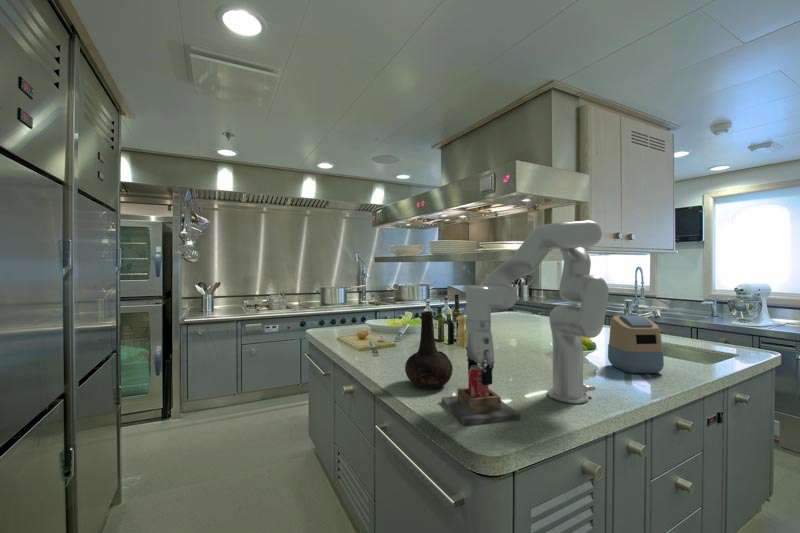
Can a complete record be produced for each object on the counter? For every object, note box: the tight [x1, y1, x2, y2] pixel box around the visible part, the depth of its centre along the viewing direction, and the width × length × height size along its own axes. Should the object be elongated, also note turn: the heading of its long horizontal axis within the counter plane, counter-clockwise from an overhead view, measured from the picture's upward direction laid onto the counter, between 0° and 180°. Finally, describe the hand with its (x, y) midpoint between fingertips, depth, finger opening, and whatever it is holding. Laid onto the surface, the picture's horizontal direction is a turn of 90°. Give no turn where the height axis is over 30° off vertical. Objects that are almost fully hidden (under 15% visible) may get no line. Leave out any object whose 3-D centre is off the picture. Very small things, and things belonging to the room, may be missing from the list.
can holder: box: [441, 387, 521, 426], centre depth 110 cm, size 18×18×6 cm
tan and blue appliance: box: [607, 315, 665, 374], centre depth 153 cm, size 17×17×23 cm
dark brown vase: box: [404, 311, 454, 390], centre depth 133 cm, size 18×18×28 cm
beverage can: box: [467, 364, 490, 398], centre depth 110 cm, size 6×6×12 cm
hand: (479, 379), depth 110 cm, fingers open, 9 cm apart
